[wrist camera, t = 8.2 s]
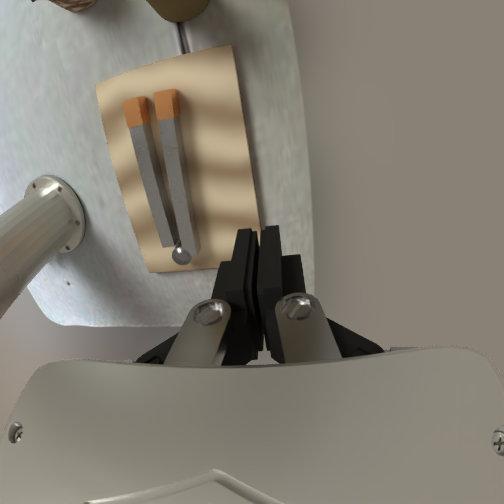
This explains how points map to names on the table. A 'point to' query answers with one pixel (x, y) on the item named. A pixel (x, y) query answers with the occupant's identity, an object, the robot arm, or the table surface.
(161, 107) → the tongs arm
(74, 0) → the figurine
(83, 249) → the table surface
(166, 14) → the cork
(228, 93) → the board
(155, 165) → the arm
